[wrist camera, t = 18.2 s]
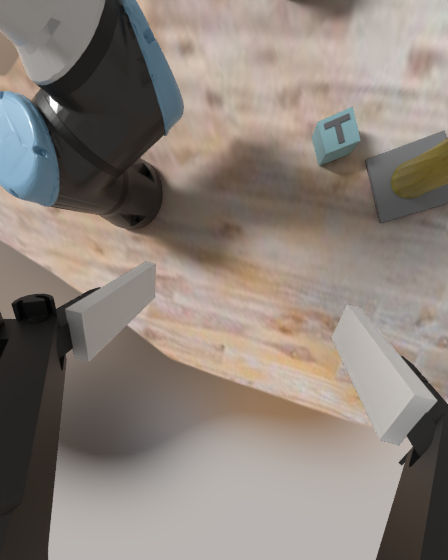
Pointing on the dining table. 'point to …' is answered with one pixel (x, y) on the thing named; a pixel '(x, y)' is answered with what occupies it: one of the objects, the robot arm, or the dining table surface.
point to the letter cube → (335, 136)
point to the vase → (422, 172)
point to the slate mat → (381, 177)
